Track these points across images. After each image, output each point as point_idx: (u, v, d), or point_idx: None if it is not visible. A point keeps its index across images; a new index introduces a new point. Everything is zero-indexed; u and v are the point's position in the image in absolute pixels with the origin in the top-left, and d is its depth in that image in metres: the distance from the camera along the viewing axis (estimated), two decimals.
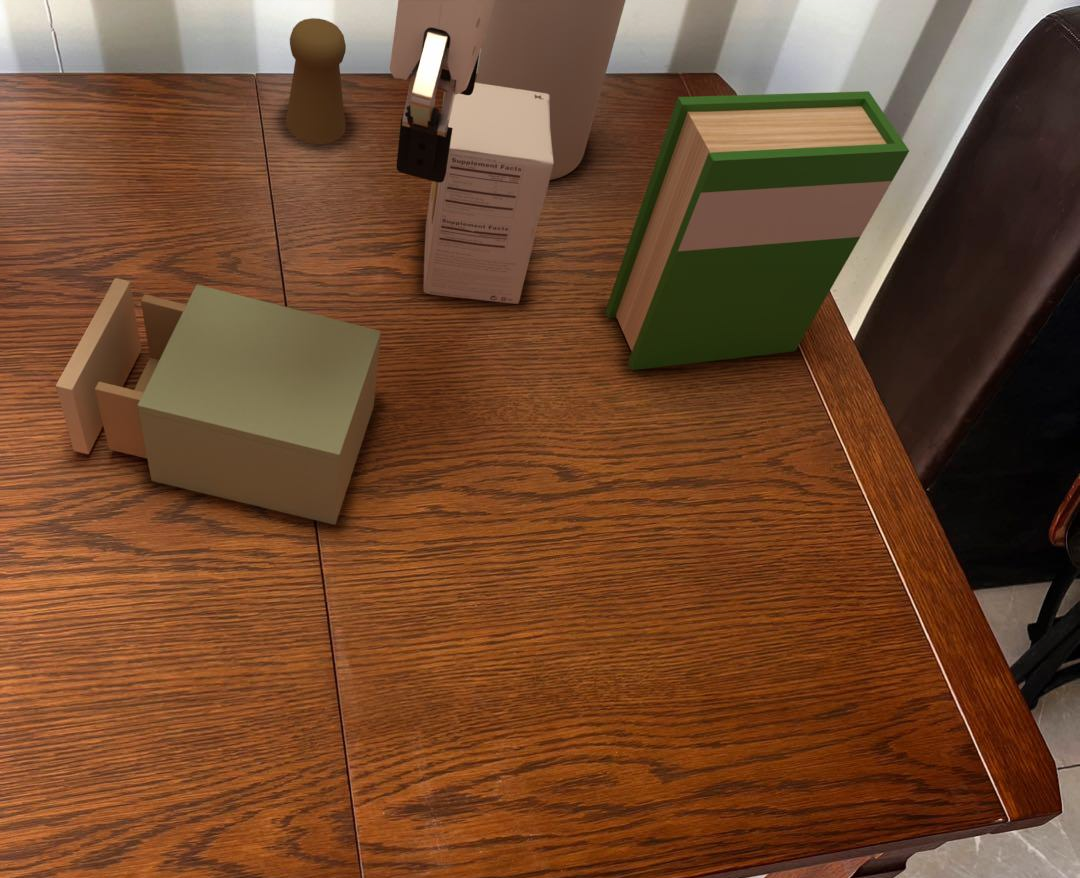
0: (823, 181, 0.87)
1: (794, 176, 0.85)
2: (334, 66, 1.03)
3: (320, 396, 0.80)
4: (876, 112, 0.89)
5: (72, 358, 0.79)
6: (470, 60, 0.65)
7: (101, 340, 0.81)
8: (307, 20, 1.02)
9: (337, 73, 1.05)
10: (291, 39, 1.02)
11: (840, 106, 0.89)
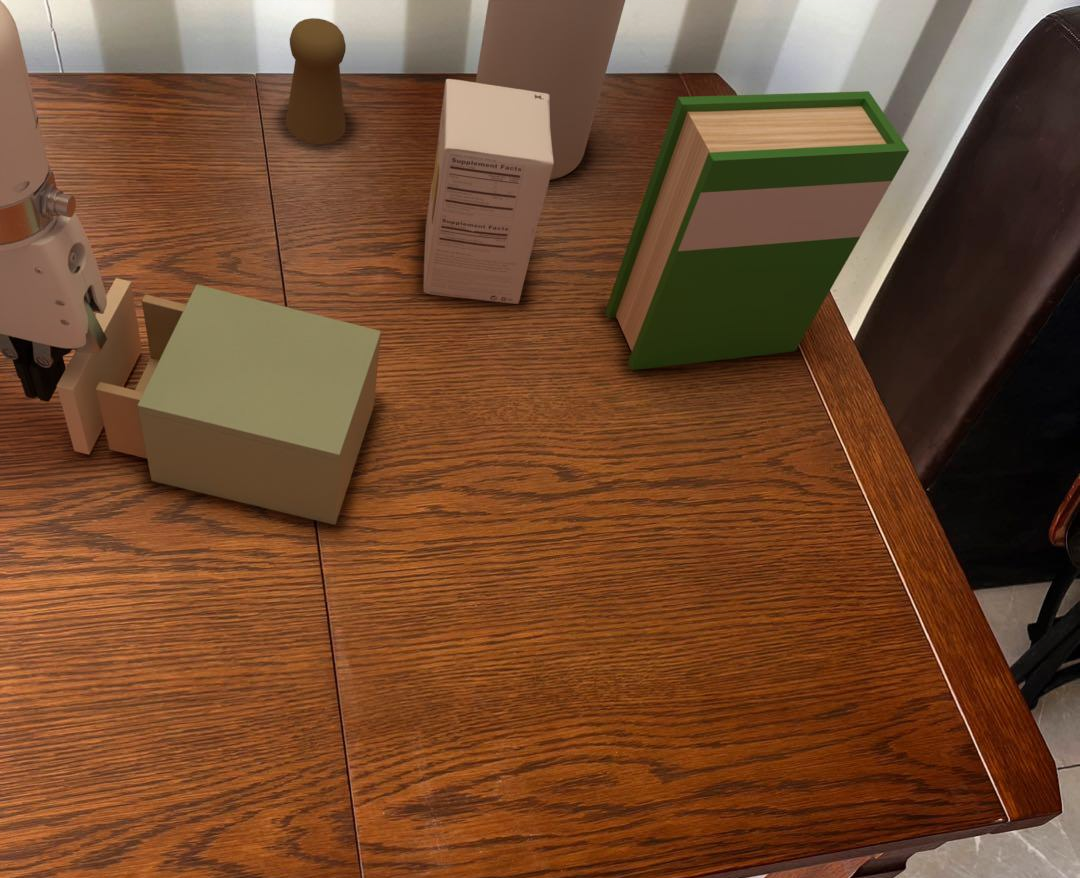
0: (823, 181, 0.87)
1: (794, 176, 0.85)
2: (333, 66, 1.03)
3: (320, 396, 0.80)
4: (876, 112, 0.89)
5: (73, 358, 0.79)
6: None
7: None
8: (307, 20, 1.02)
9: (337, 73, 1.05)
10: (291, 39, 1.02)
11: (840, 106, 0.89)
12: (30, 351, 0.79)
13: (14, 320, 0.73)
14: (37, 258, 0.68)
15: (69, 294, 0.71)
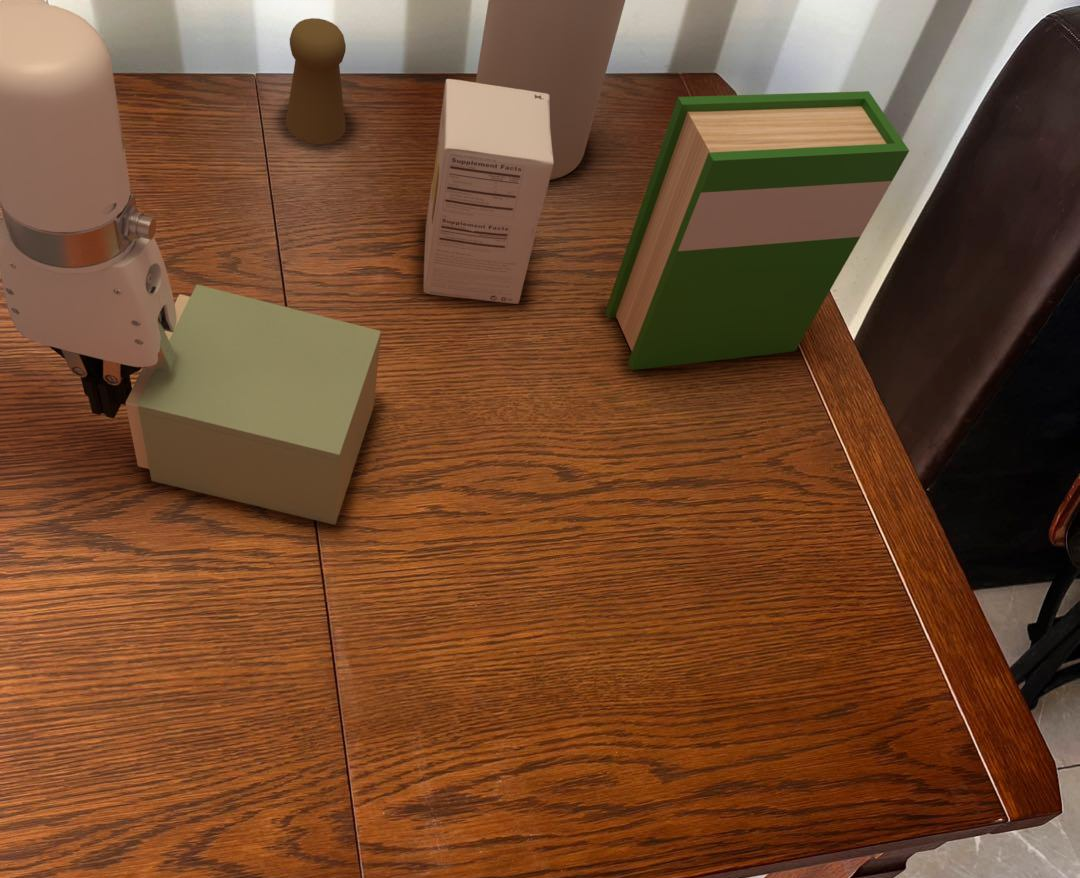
0: (823, 181, 0.87)
1: (794, 176, 0.85)
2: (333, 66, 1.03)
3: (320, 396, 0.80)
4: (876, 112, 0.89)
5: (140, 375, 0.79)
6: (11, 313, 0.73)
7: None
8: (307, 20, 1.02)
9: (337, 73, 1.05)
10: (291, 39, 1.02)
11: (840, 106, 0.89)
12: (98, 368, 0.79)
13: (88, 339, 0.73)
14: (117, 279, 0.68)
15: (145, 314, 0.71)
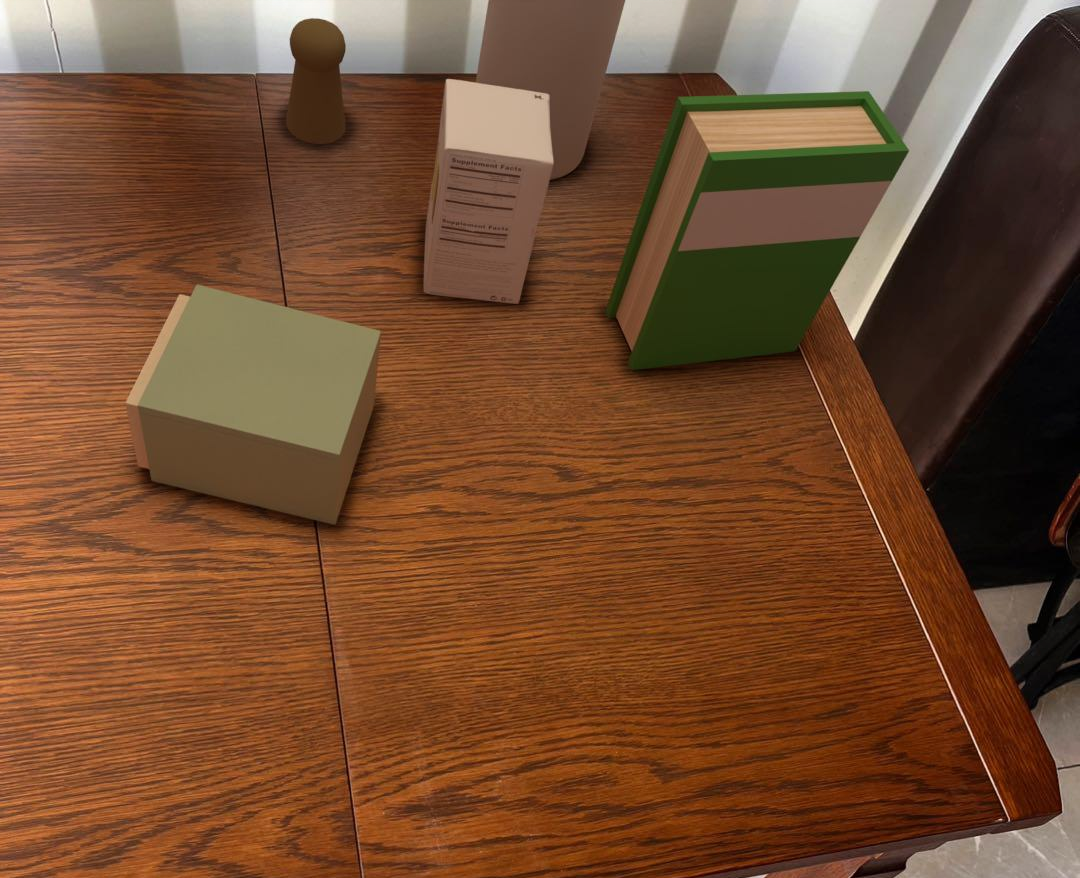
0: (823, 181, 0.87)
1: (794, 176, 0.85)
2: (333, 66, 1.03)
3: (320, 396, 0.80)
4: (876, 112, 0.89)
5: (140, 375, 0.79)
6: None
7: None
8: (307, 20, 1.02)
9: (337, 73, 1.05)
10: (291, 39, 1.02)
11: (840, 106, 0.89)
12: None
13: None
14: None
15: None
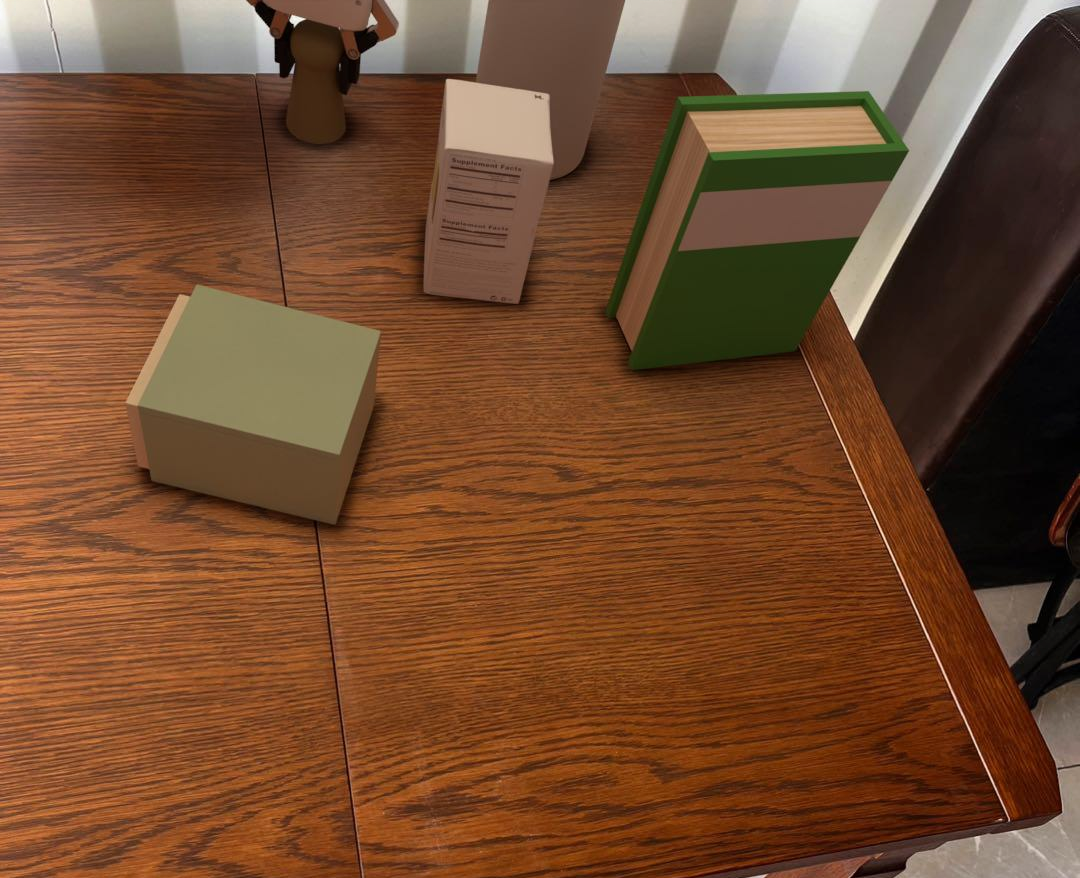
0: (823, 181, 0.87)
1: (794, 176, 0.85)
2: (334, 66, 1.03)
3: (320, 396, 0.80)
4: (876, 112, 0.89)
5: (140, 375, 0.79)
6: None
7: None
8: (307, 20, 1.02)
9: (337, 73, 1.05)
10: (291, 39, 1.02)
11: (840, 106, 0.89)
12: (288, 34, 1.02)
13: (319, 2, 0.97)
14: None
15: None
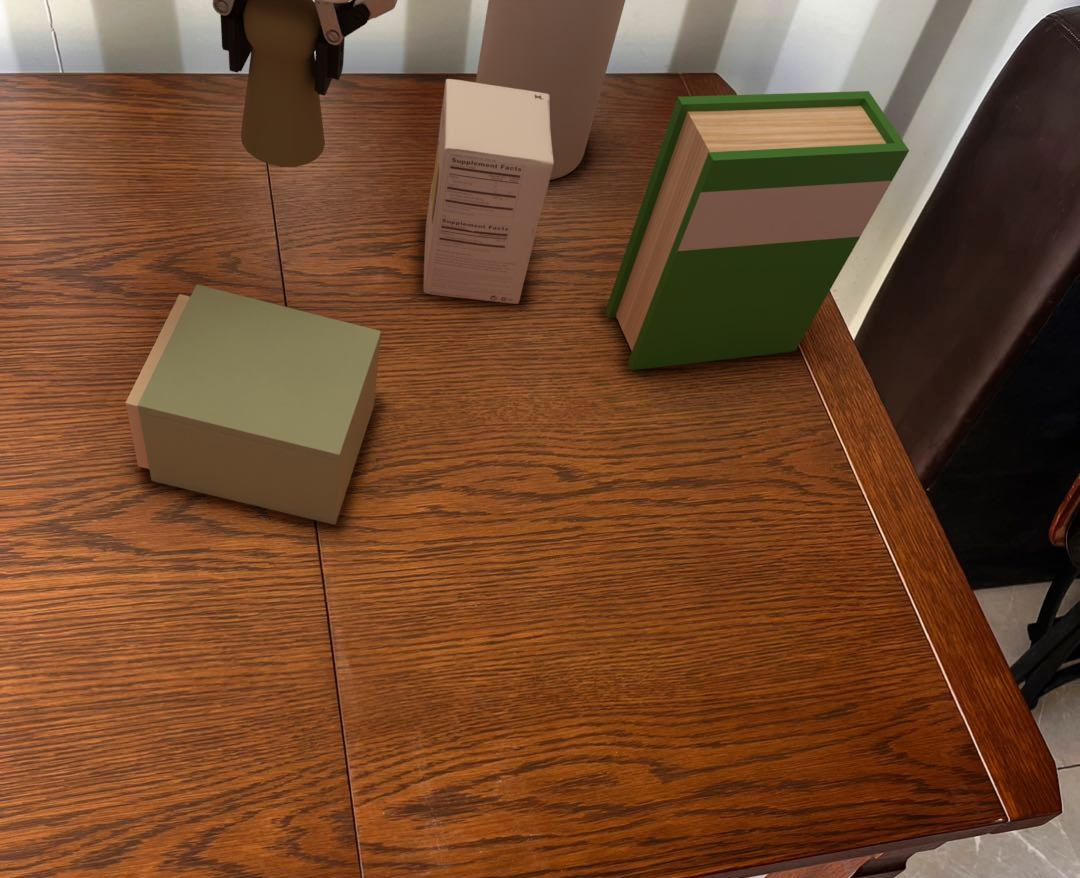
0: (823, 181, 0.87)
1: (794, 176, 0.85)
2: (306, 54, 0.72)
3: (320, 396, 0.80)
4: (876, 112, 0.89)
5: (140, 375, 0.79)
6: None
7: None
8: None
9: (311, 64, 0.74)
10: (245, 16, 0.71)
11: (840, 106, 0.89)
12: (240, 9, 0.72)
13: None
14: None
15: None
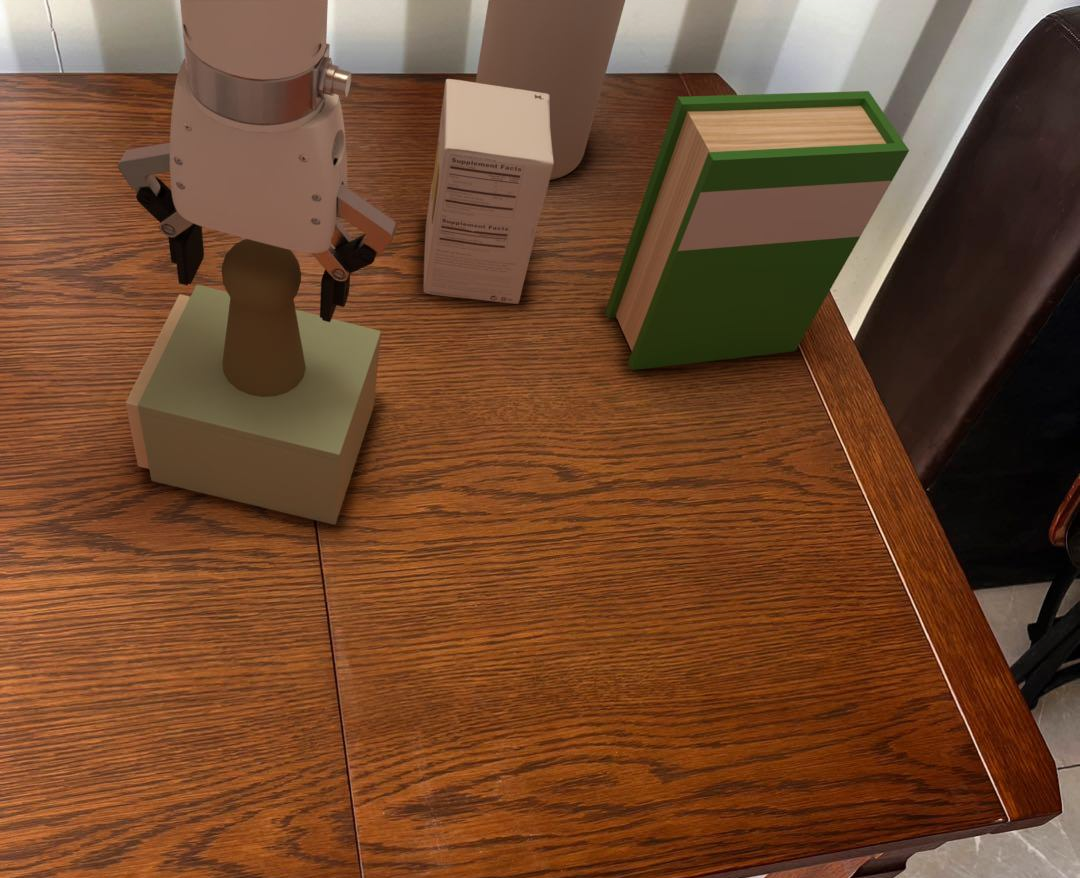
0: (823, 181, 0.87)
1: (794, 176, 0.85)
2: (284, 305, 0.73)
3: (320, 396, 0.80)
4: (876, 112, 0.89)
5: (140, 375, 0.79)
6: (175, 188, 0.66)
7: None
8: (246, 242, 0.72)
9: (290, 309, 0.75)
10: (223, 271, 0.72)
11: (840, 106, 0.89)
12: (188, 229, 0.71)
13: (259, 219, 0.66)
14: (306, 143, 0.61)
15: (328, 188, 0.64)
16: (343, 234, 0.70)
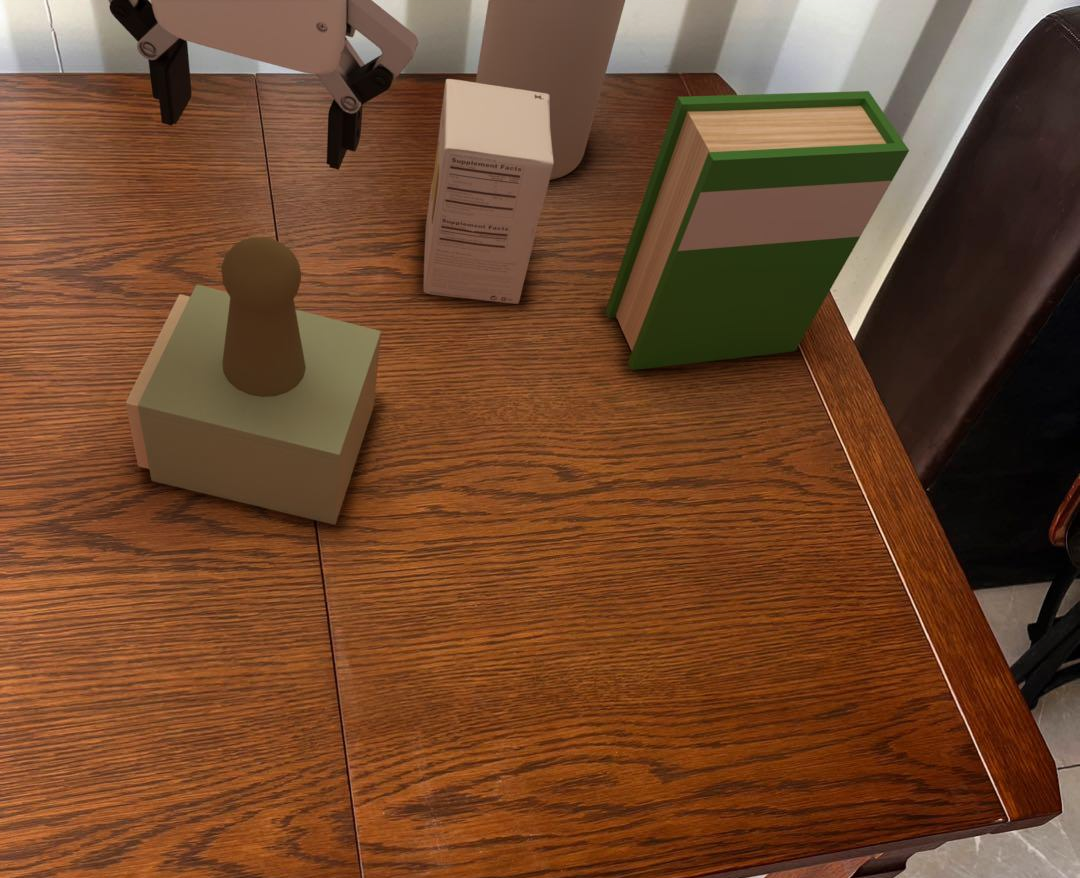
0: (823, 181, 0.87)
1: (794, 176, 0.85)
2: (284, 304, 0.73)
3: (320, 396, 0.80)
4: (876, 112, 0.89)
5: (140, 375, 0.79)
6: None
7: None
8: (246, 242, 0.72)
9: (290, 308, 0.75)
10: (223, 270, 0.72)
11: (840, 106, 0.89)
12: (172, 52, 0.60)
13: (254, 26, 0.56)
14: None
15: None
16: (354, 57, 0.60)
